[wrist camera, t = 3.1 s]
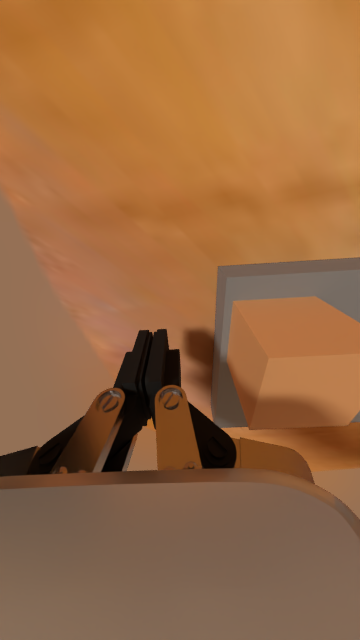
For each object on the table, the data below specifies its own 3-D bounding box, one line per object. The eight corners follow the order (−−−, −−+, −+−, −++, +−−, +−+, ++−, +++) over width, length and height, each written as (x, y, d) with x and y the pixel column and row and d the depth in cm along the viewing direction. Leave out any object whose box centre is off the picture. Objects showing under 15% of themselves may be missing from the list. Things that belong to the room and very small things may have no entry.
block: (315, 296, 11) (406, 351, 6) (292, 357, 13) (347, 425, 9) (232, 301, 11) (268, 358, 7) (226, 360, 13) (249, 429, 9)
